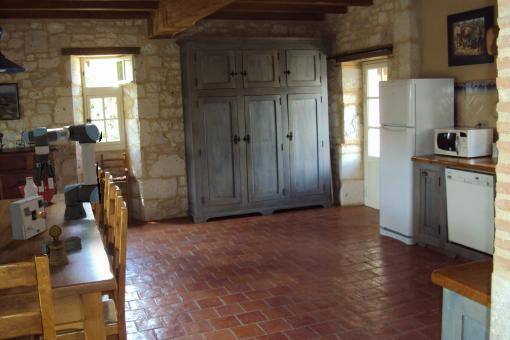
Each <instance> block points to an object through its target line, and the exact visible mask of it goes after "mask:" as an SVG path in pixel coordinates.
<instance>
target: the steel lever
mask: <svg viewBox="0 0 510 340" xmlns="http://www.w3.org/2000/svg"><path fill="white" fill-rule="evenodd" d="M28 230H34V231H36V232H38V234H40V233H39V232H40V230H39V229H35V228H32V226H30V227H28Z"/></svg>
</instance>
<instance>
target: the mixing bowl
mask: <svg viewBox="0 0 510 340" xmlns="http://www.w3.org/2000/svg"><path fill="white" fill-rule="evenodd" d="M34 184H35V185H36V186H37V189H38V191H37V194H38V196H43V198H44V201H47V202H48V204H49V203H50V202H51V201H52V200H53V197H54V196H55V192H56V187H57V183H56V182H53V186H54V188H52V189H49V184H48V182H43V187H44V192H39V187H38V182H37V183H34ZM25 186H26V184H23V185H21V186H18V188H19V190H20V194H21V195H22V197H23V199H24V198H25V192H24V188H25Z"/></svg>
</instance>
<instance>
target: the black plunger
mask: <svg viewBox="0 0 510 340" xmlns="http://www.w3.org/2000/svg"><path fill="white" fill-rule="evenodd" d="M38 206H44V207H45V208H46V207H48V206H49V203H48V202H47V201H44V202H38Z"/></svg>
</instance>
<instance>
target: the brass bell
mask: <svg viewBox="0 0 510 340" xmlns="http://www.w3.org/2000/svg"><path fill="white" fill-rule="evenodd" d="M48 235H49V236H50V237H51V238H52V242H51V241H50V242H51V244H50V256H49V259H50V260H49V265H50V266H51V267H60V266H64V265H67V264H69V258H68V254H67V252H66V251H65V245H64V242H63V240H61V239H60V236H61V235H62V228H61V227H60V226H59V225H57V224H53V225H52V226H50V227H49V229H48Z"/></svg>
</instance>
